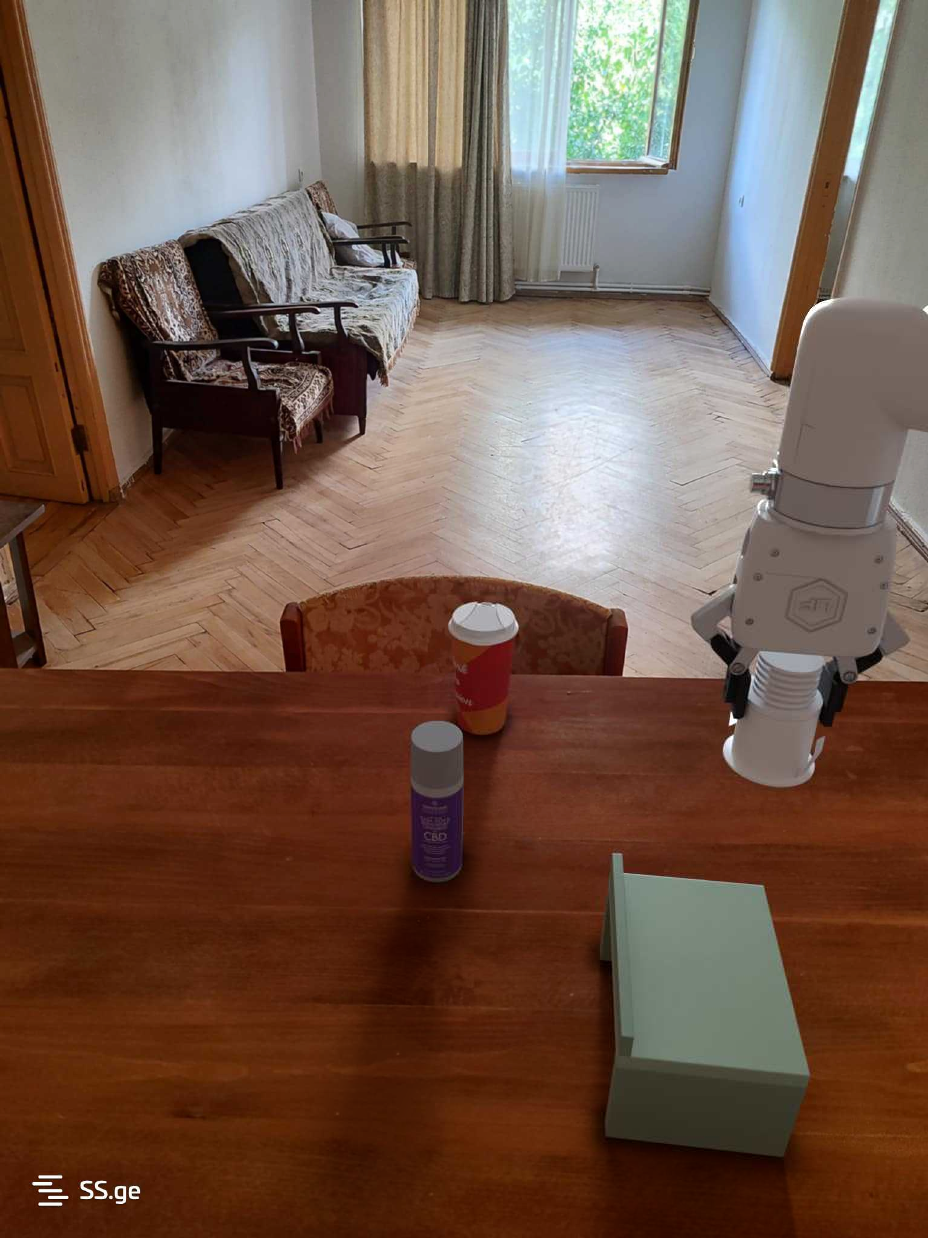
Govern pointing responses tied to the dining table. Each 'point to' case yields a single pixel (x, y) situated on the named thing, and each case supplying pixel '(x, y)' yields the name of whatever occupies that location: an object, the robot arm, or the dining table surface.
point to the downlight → (778, 721)
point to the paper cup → (482, 664)
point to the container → (437, 800)
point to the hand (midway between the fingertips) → (778, 711)
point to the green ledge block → (699, 1016)
